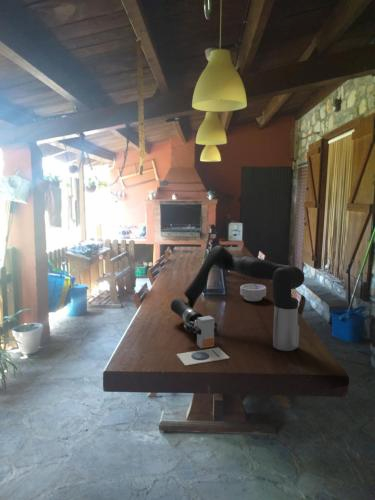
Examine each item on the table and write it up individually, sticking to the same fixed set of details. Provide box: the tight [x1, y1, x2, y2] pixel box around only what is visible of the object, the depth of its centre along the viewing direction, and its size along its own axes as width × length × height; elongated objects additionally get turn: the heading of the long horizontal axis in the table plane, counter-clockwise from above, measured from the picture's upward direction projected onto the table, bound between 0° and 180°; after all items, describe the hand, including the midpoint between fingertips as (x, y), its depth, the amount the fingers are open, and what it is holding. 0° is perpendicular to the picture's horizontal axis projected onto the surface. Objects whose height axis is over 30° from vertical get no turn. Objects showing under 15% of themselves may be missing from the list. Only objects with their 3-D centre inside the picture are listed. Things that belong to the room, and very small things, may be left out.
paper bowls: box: [239, 283, 267, 302], centre depth 218 cm, size 15×15×8 cm
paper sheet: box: [175, 347, 230, 367], centre depth 141 cm, size 18×10×1 cm, turn 110°
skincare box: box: [196, 315, 215, 349], centre depth 150 cm, size 6×4×12 cm
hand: (208, 331), depth 148 cm, fingers closed on skincare box, 6 cm apart
